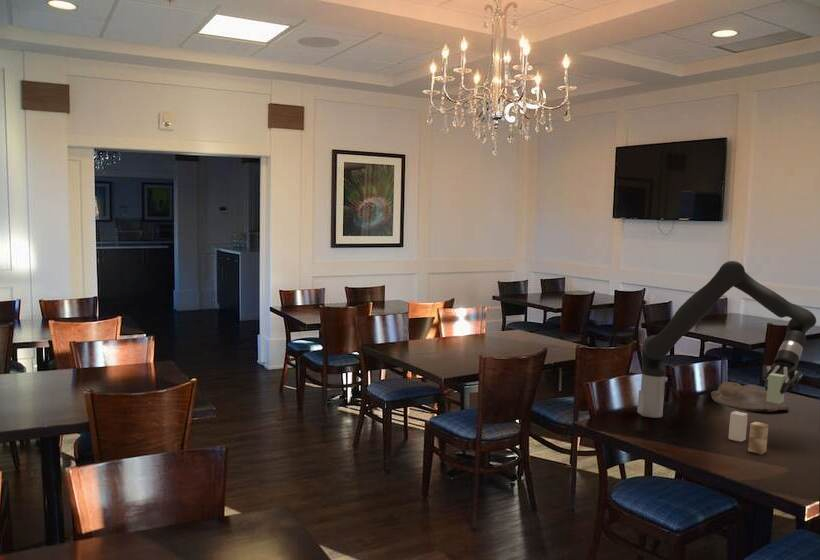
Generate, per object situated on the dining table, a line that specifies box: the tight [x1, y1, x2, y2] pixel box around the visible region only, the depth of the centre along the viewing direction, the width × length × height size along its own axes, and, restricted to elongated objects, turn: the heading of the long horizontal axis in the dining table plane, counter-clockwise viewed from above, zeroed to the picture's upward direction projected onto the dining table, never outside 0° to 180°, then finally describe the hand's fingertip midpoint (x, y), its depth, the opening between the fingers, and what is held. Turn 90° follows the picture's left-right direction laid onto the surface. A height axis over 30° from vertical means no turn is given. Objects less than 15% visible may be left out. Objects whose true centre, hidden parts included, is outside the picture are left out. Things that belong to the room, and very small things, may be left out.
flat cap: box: [710, 381, 789, 413], centre depth 311 cm, size 26×14×28 cm
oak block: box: [747, 421, 770, 455], centre depth 246 cm, size 4×4×10 cm
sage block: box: [766, 373, 786, 404], centre depth 255 cm, size 4×4×10 cm
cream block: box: [728, 410, 749, 443], centre depth 259 cm, size 4×4×10 cm
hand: (774, 391), depth 253 cm, fingers closed on sage block, 4 cm apart
